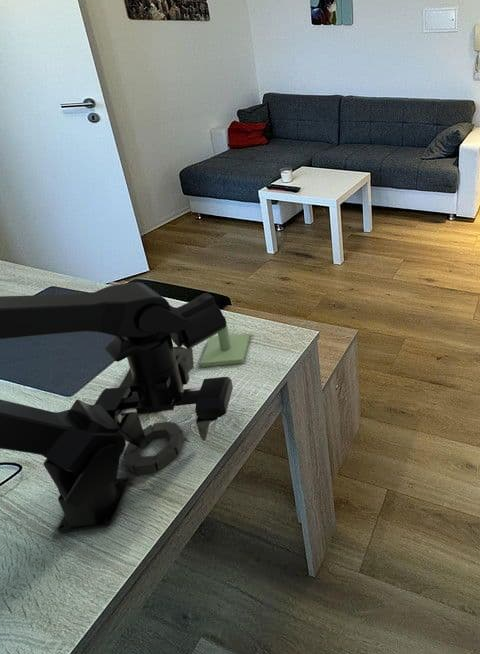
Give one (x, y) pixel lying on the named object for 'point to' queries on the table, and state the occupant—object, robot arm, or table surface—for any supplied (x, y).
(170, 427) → the ring
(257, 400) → the table surface
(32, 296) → the robot arm
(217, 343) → the post
